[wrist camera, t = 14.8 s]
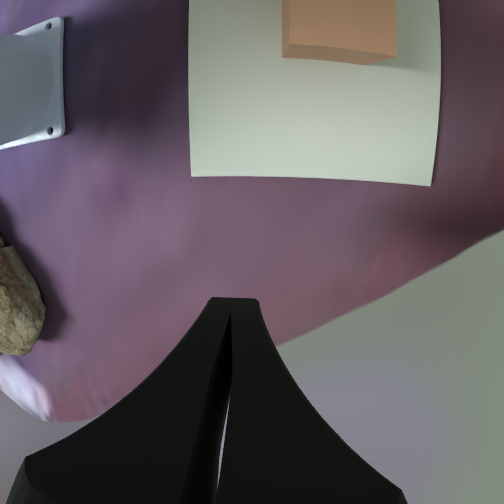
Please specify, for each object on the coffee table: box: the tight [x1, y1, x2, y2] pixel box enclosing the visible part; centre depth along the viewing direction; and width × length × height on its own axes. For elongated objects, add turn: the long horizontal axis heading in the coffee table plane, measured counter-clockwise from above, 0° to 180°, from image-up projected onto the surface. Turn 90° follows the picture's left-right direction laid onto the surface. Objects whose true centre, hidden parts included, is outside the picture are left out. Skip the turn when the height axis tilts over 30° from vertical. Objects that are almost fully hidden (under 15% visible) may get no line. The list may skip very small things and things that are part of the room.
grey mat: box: [188, 0, 441, 186], centre depth 15 cm, size 14×12×1 cm
